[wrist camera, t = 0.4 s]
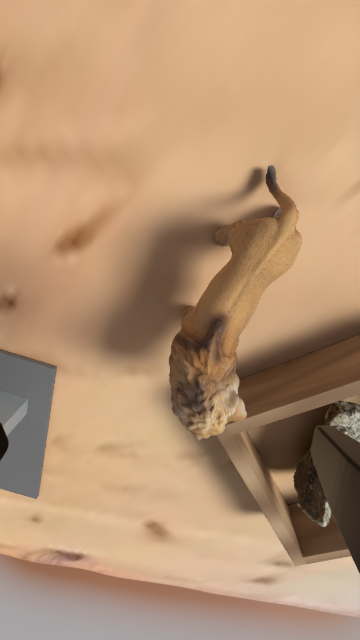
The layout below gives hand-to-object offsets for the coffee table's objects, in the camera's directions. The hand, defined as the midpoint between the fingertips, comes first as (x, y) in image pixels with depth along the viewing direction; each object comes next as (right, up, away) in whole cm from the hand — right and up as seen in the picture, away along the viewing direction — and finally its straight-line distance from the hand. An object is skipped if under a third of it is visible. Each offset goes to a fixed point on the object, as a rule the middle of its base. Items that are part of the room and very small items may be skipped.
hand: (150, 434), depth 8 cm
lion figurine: (+5, +6, +12) cm, 14 cm away
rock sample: (+15, -7, +16) cm, 23 cm away
